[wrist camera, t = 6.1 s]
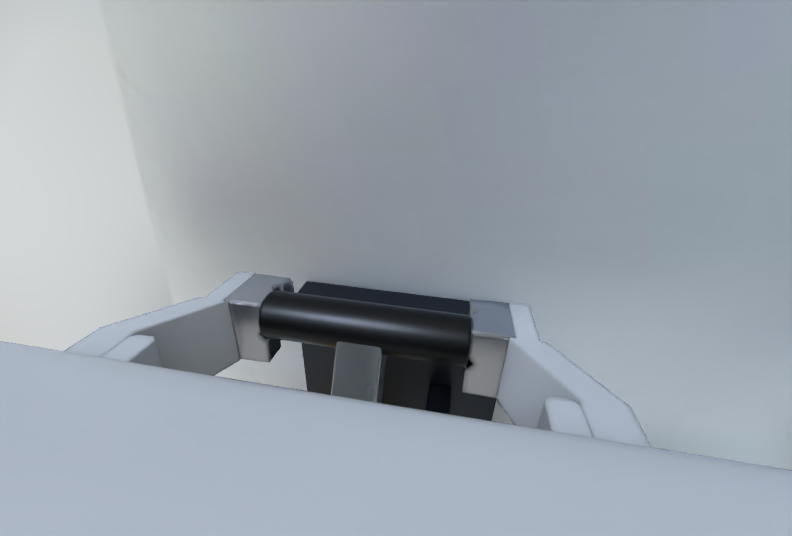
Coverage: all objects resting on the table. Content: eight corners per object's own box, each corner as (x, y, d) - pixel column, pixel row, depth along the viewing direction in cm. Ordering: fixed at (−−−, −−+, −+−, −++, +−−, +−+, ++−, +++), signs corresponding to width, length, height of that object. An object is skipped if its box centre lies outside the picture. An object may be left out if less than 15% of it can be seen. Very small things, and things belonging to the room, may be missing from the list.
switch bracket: (306, 280, 16) (-51, 711, 5) (510, 305, 15) (623, 962, 4) (324, 451, 22) (169, 835, 11) (473, 480, 21) (475, 954, 9)
